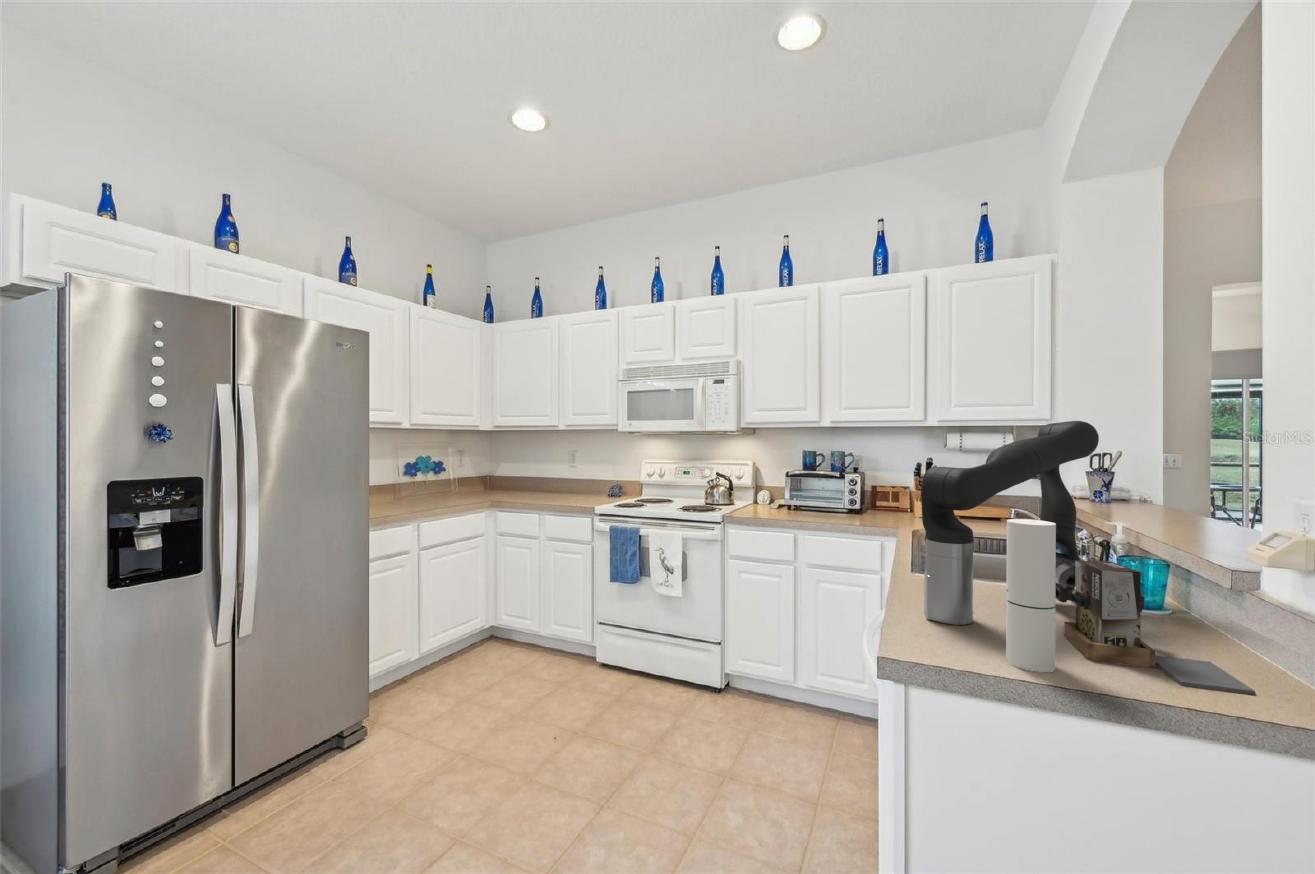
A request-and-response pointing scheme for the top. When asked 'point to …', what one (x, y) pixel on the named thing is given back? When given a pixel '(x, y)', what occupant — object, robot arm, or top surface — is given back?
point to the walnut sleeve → (1110, 650)
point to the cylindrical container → (1031, 594)
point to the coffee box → (1109, 603)
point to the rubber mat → (1200, 674)
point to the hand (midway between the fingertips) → (1111, 606)
